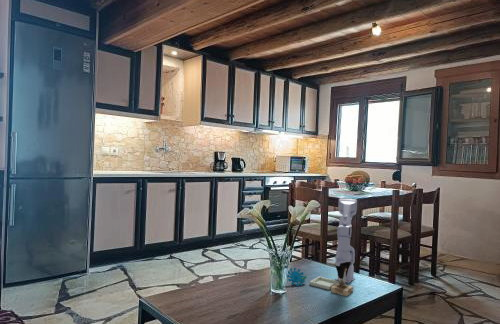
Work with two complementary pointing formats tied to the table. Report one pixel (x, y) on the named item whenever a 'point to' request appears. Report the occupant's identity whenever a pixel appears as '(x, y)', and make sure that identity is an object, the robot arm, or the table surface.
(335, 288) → the socket block
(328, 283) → the tray
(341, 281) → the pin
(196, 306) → the table surface
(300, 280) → the blue spiky virus model
